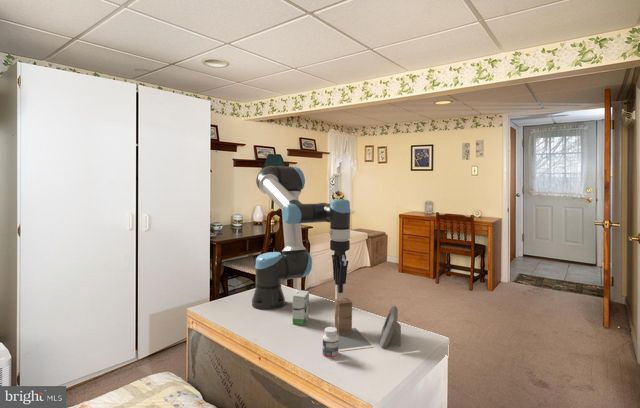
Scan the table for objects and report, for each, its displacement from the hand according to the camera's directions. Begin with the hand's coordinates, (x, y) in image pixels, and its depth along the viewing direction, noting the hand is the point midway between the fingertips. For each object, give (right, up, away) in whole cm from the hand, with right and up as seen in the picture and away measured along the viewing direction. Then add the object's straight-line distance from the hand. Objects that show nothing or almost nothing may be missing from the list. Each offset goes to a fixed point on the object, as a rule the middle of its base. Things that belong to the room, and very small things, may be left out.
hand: (339, 300), depth 139 cm
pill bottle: (-4, -13, -22) cm, 25 cm away
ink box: (-15, -11, +6) cm, 20 cm away
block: (+1, -11, -4) cm, 12 cm away
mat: (+3, -12, -10) cm, 16 cm away
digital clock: (+17, -12, -10) cm, 23 cm away
